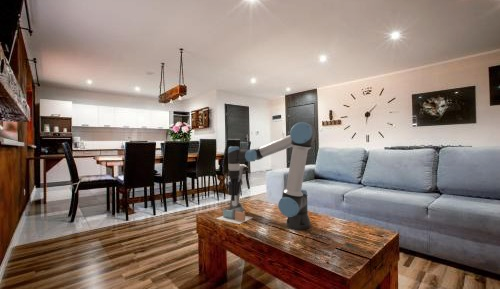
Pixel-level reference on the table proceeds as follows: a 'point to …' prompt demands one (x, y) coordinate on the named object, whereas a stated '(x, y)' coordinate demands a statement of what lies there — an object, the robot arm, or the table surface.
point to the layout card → (234, 219)
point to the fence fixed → (229, 213)
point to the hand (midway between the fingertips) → (234, 205)
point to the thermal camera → (238, 207)
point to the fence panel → (240, 215)
